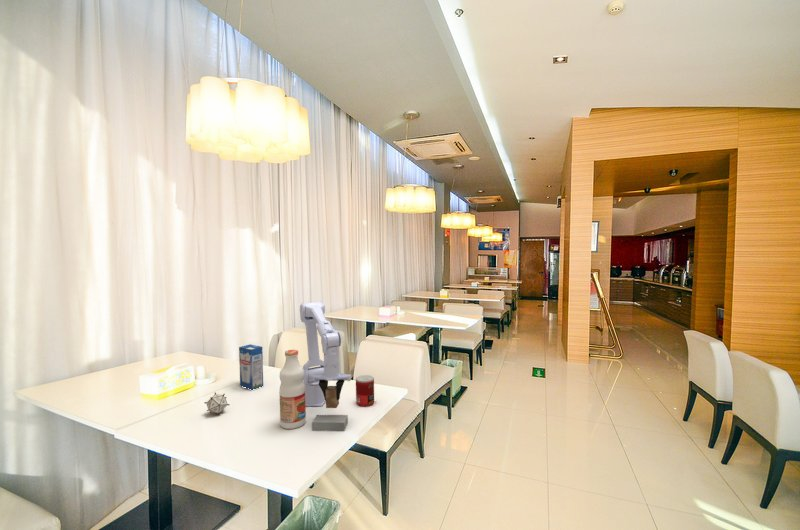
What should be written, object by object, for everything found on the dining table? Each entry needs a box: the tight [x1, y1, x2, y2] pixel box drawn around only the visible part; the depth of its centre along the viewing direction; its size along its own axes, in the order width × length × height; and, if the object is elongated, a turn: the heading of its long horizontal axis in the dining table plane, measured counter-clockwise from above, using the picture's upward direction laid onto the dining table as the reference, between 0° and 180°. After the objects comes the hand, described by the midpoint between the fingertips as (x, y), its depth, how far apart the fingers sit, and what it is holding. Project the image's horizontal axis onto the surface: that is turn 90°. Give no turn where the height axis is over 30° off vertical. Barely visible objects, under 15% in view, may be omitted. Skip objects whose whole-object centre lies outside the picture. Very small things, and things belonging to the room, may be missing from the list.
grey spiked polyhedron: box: [204, 392, 231, 416], centre depth 141 cm, size 9×8×10 cm
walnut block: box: [325, 385, 340, 409], centre depth 131 cm, size 4×4×7 cm
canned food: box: [355, 374, 375, 408], centre depth 148 cm, size 8×8×11 cm
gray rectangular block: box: [311, 414, 349, 432], centre depth 128 cm, size 12×6×3 cm, turn 87°
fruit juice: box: [279, 349, 307, 430], centre depth 131 cm, size 9×9×28 cm
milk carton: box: [238, 344, 264, 391], centre depth 170 cm, size 10×6×20 cm, turn 58°
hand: (332, 399), depth 131 cm, fingers closed on walnut block, 4 cm apart
